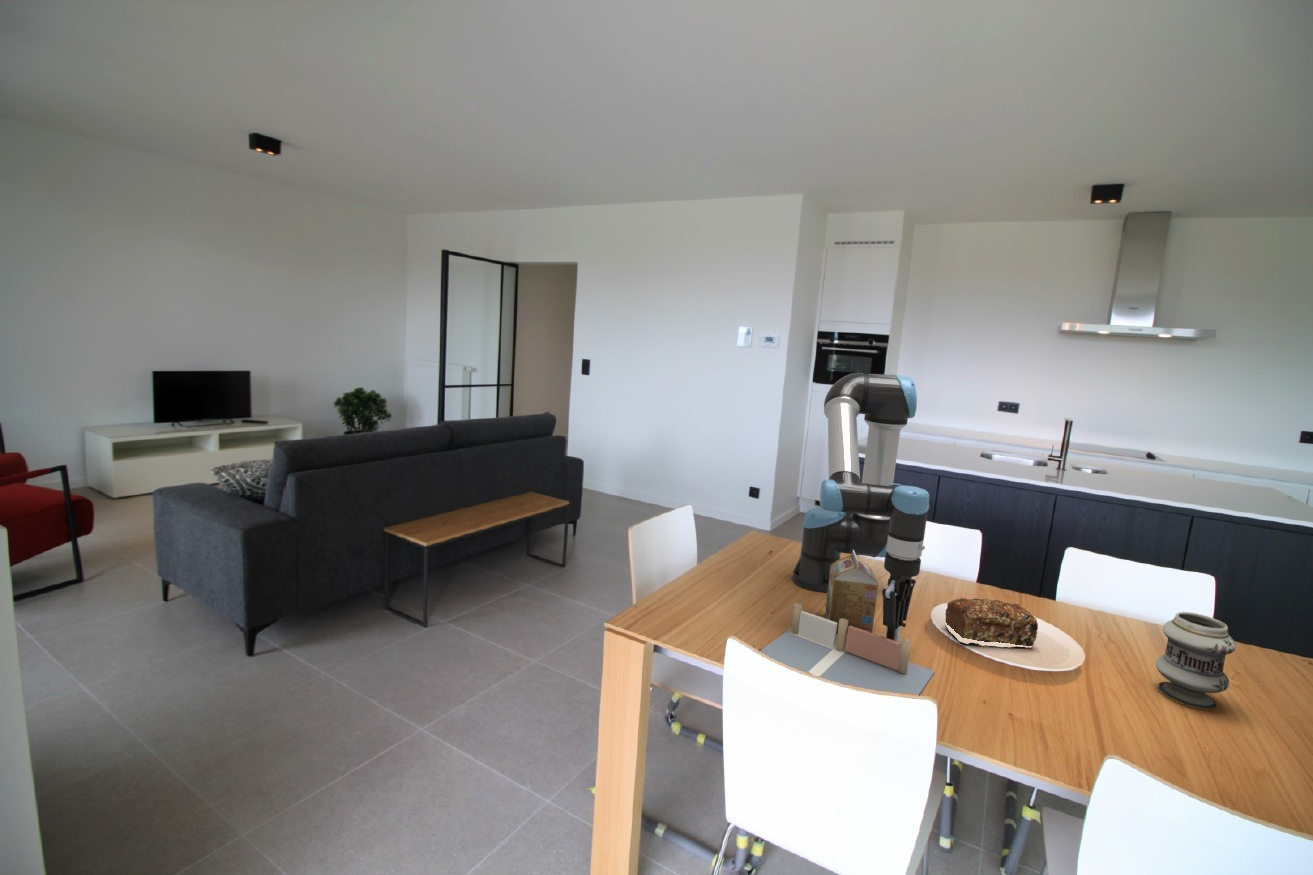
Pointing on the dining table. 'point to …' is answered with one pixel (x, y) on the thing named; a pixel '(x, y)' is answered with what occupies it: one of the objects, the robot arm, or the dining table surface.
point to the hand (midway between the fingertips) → (890, 651)
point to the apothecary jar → (1194, 659)
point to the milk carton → (852, 593)
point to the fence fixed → (819, 628)
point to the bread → (992, 621)
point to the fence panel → (879, 648)
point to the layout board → (845, 665)
